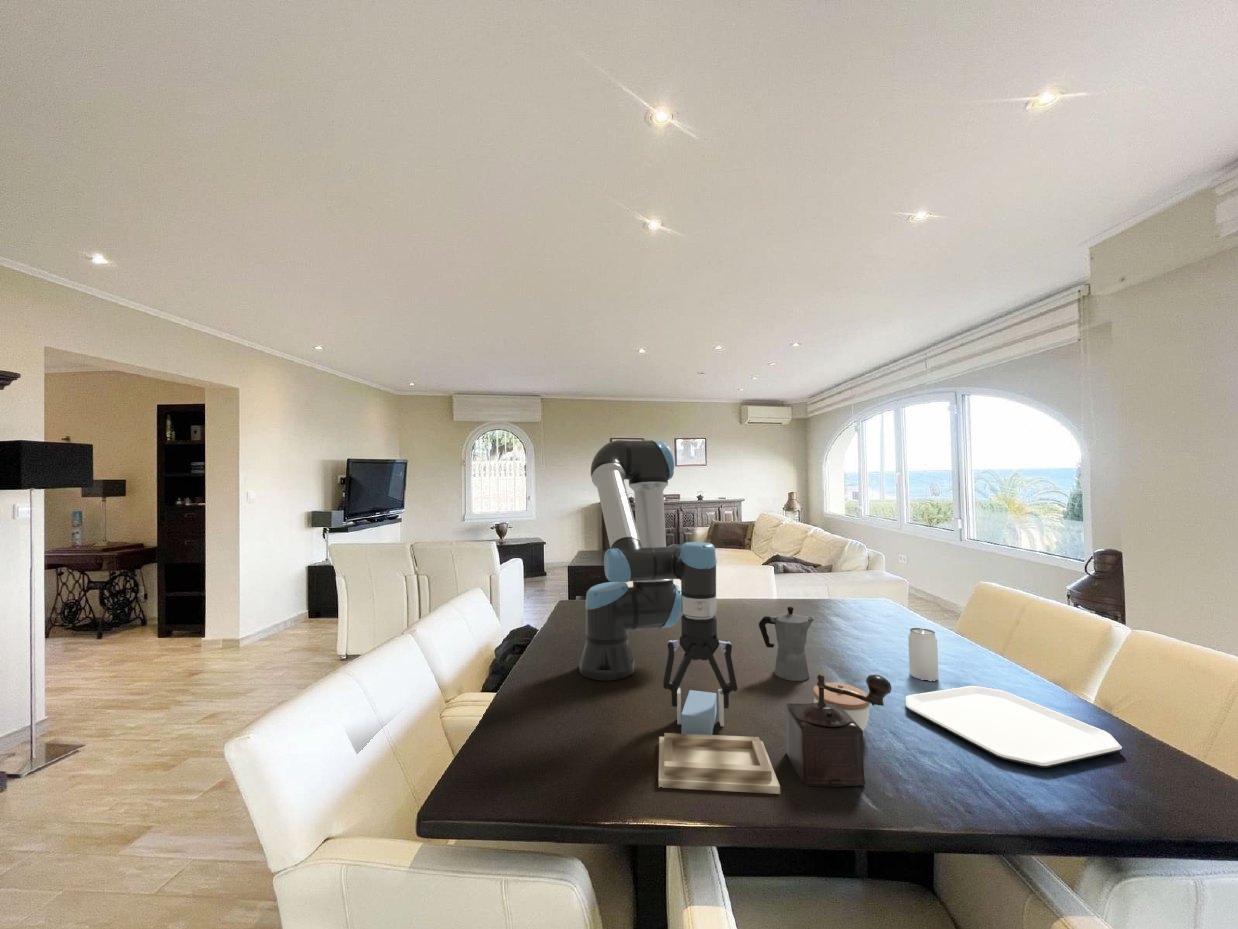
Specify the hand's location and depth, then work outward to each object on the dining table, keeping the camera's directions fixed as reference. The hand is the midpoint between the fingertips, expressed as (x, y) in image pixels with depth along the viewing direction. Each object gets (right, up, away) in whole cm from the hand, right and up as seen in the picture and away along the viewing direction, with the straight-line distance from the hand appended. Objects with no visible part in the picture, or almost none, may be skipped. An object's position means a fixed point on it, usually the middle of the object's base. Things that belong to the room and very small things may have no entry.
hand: (700, 722), depth 102 cm
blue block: (0, -1, 0) cm, 1 cm away
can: (+63, -1, +24) cm, 68 cm away
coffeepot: (+28, -1, +26) cm, 38 cm away
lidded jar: (+29, 0, -3) cm, 29 cm away
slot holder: (0, 0, -16) cm, 16 cm away
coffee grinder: (+22, 0, -17) cm, 28 cm away
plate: (+63, 0, -2) cm, 63 cm away
